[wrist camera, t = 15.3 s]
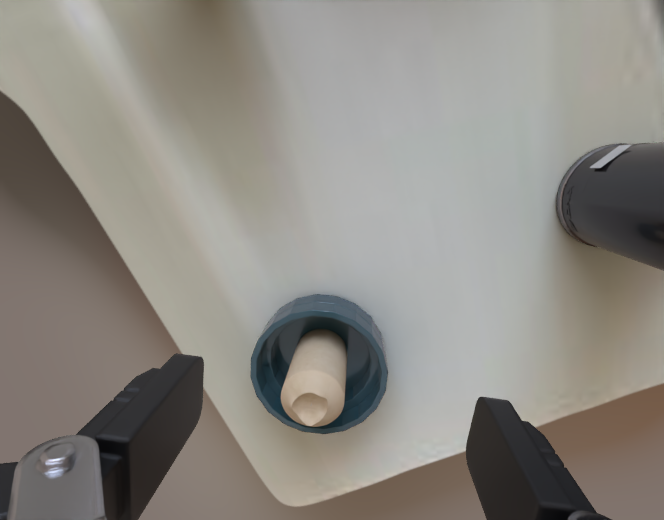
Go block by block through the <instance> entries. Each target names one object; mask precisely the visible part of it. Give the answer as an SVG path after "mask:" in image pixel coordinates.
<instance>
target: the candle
mask: <svg viewBox="0 0 664 520" xmlns="http://www.w3.org/2000/svg"><path fill="white" fill-rule="evenodd" d="M346 369H347V349H346V345H345V343H344V341H343V340H342V338H341V337H340V336H339V335H337V334H336V333H334V332H332V331H330V330H326V329H315V330H312V331H309V332H308V333H306V334H305V335H304V336H303V337H302V338H301V339H300V340H299V342H298V344H297V347H296V350H295V353H294V355H293V358H292V361H291V364H290V367H289V370H288V373H287V376H286V379H285V382H284V385H283V388H282V391H281V403H282V406H283V408H284V410H285V412H286V413H287V415H288V416H289V417H290V418H292V419H293V420H294V421H296V422H297V423H300V424H302V425H305V426H311V427H318V426H324V425H327V424H329V423H331V422H333V421H334V420H335V419H336V418H337V417H338V416H339V415H340V414H341V412H342V410H343V407H344V400H345V385H346Z"/></svg>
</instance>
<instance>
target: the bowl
mask: <svg viewBox="0 0 664 520" xmlns="http://www.w3.org/2000/svg"><path fill="white" fill-rule="evenodd" d="M315 329H326V330H330V331H332V332H334V333H336V334H337V335H339V336H340V337H341V338H342V340H343V341H344V343H345V345H346V349H347V369H346V385H345V400H344V407H343V410H342V412H341V414H340V415H339V416H338V417H337V418H336V419H335V420H334V421H333V422H331V423H329V424H327V425H324V426H318V427H311V426H305V425H302V424H300V423H297V422H296V421H294V420H293V419H292V418H290V417H289V416H288V415H287V413H286V412H285V410H284V408H283V406H282V403H281V391H282V388H283V385H284V382H285V379H286V376H287V373H288V370H289V367H290V364H291V361H292V358H293V355H294V353H295V350H296V347H297V344H298V342H299V340H300V339H301V338H302V337H303V336H304V335H305V334H306V333H308V332H309V331H312V330H315ZM387 375H388V370H387V362H386V355H385V349H384V344H383V340H382V335H381V332H380V331H379V329H378V327H377V326H376V324H375V323H374V321H373V319H372V318H371V317H370V316H369V315H368V314H367V313H366V312H365V311H363V310H362V309H361V308H360V307H359V306H357V305H356V304H355V303H352V302H350V301H347V300H345V299H343V298H340V297H338V296H329V295H319V294H317V295H311V296H306V297H302V298H298V299H295V300H294V301H292V302H290V303H288V304H286V305H285V306H283V307H281V308H280V309H279V310H278V311H277V313H276V314H275V315H274V316H273V317H272V318H271V319H270V320H269V322H268V324H267V325H266V327H265V329H264V331H263V332H262V334H261V336H260V338H259V339H258V341H257V344H256V346H255V349H254V351H253V354H252V357H251V380H252V383H253V386H254V389H255V392H256V395H257V397H258V398H259V400H260V401H261V402H262V404H263V405H264V407H265V408H266V409H267V411H268V412H269V413H271V414H272V415H273V416H274V417H276V418H277V419H278V420H280V421H281V422H282V423H284V424H285V425H288V426H290V427H293V428H295V429H298V430H300V431H304V432H311V433H319V434H328V433H334V432H340V431H345V430H347V429H349V428H351V427H353V426H355V425H357V424H359V423H362V422H363V421H364V420H365V419H366V418H367V417H368V416H369V415H370V414H371V413H372V412H373V411H375V410H376V408H377V407H378V405H379V403H380V401H381V399H382V397H383V395H384V393H385V391H386V383H387Z"/></svg>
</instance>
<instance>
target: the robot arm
mask: <svg viewBox="0 0 664 520" xmlns="http://www.w3.org/2000/svg"><path fill="white" fill-rule="evenodd" d="M557 213H558V217H559V219H560V222H561V224H562V226H563V227H564V229H565V230H566V231H567V232H568V233H569V234H570V235H571V236H572V237H573V238H575V239H576V240H578V241H580V242H582V243H585V244H587V245H590V246H594V247H599V248H602V249H605V250H607V251H610V252H613V253H616V254H618V255H621V256H624V257H627V258H630V259H632V260H635V261H638V262H641V263H644V264H647V265H649V266H652V267H655V268H658V269H661V270H663V271H664V142H660V143H642V144H611V145H606V146H602V147H599V148H597V149H594V150H592V151H590V152H588V153H587V154H585V155H584V156H582V157H581V158H580V159H578V160H577V161H576V162H575V163H574V164H573V165H572V166H571V167H570V169H569V170H568V171H567V173H566V174H565V176H564V178H563V180H562V182H561V184H560V187H559V190H558V194H557ZM203 372H204V362H203V358H202V357H198V356H191V355H184V354H174V355H173V356H172V357H171V358H170V359H169V360H168V362H166V363H165V364H164V365H163V366H162V367H161V369H156V368H152V369H151V370H149V371H147V372H145V373H143V374H141V375H139V376H137V377H135V378H134V379H133V380H132V381H131V382H130V383H129V384H128V385H127V386H126V387H125V388H124V391H121V392H120V393H119V394H118V395H117V396H116V397H115V398H114V400H113V401H110V402H109V403H108V404H107V405H106V406H105V407H104V408H103V409H102V410H101V411H100V412H99V413H98V414H97V415H96V416H95V417H94V418H93V419H92V420H91V421H90V422H89V423H87V425H85V426H84V427H83V428H82V429H81V430H80V431H79V432H78V433H77V434H76V435H70V436H63V437H58V438H55V439H52V440H49V441H47V442H45V443H42V444H40V445H38V446H37V447H35V448H33V449H32V450H31V451H29V452H28V453H27V454H26V455H25V456H24V457H22V459H21V460H20V461H19V462H13V463H3V464H0V520H138V519H139V517H140V515H141V514H142V512H143V510H144V509H145V507H146V506H147V504H148V502H149V501H150V499H151V498H152V496H153V495H154V493H155V491H156V490H157V488H158V486H159V485H160V483H161V482H162V480H163V478H164V477H165V475H166V474H167V472H168V470H169V469H170V467H171V465H172V464H173V462H174V461H175V459H176V457H177V455H178V454H179V453H180V451H181V449H182V448H183V446H184V445H185V443H186V441H187V439H188V438H189V436H190V435H191V433H192V432H193V430H194V428H195V427H196V425H197V423H198V420H199V418H200V414H201V410H202V402H203ZM466 459H467V465H468V468H469V471H470V474H471V477H472V479H473V482H474V485H475V488H476V491H477V493H478V496H479V499H480V502H481V505H482V508H483V510H484V513H485V516H486V518H487V520H611V519H609V518H607V517H605V516H603V515H601V514H598V513H597V512H596V511H595V510H594V508H593V507H592V505H591V504H590V502H589V501H588V499H587V498H586V496H585V495H584V493H583V492H582V491H581V489H580V487H579V486H578V485H577V483H576V481H575V480H574V479H573V477H572V476H571V474H570V473H569V471H568V470H567V468H564V464H563V462H562V461H561V459H560V458H559V456H558V455H557V454H555V450H554V449H553V448H552V446H551V445H550V443H549V442H548V440H547V439H546V437H545V436H544V435H543V434H542V433H541V432H540V431H538V430H537V429H536V428H535V427H534V426H533V425H531V424H530V423H529V422H526V421H522V420H521V419H520V417H519V415H518V414H517V412H516V411H515V409H514V407H513V406H512V404H511V403H510V402H509V401H508V400H502V399H495V398H487V397H479V398H478V400H477V403H476V406H475V411H474V415H473V419H472V423H471V427H470V431H469V436H468V440H467V445H466Z"/></svg>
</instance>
